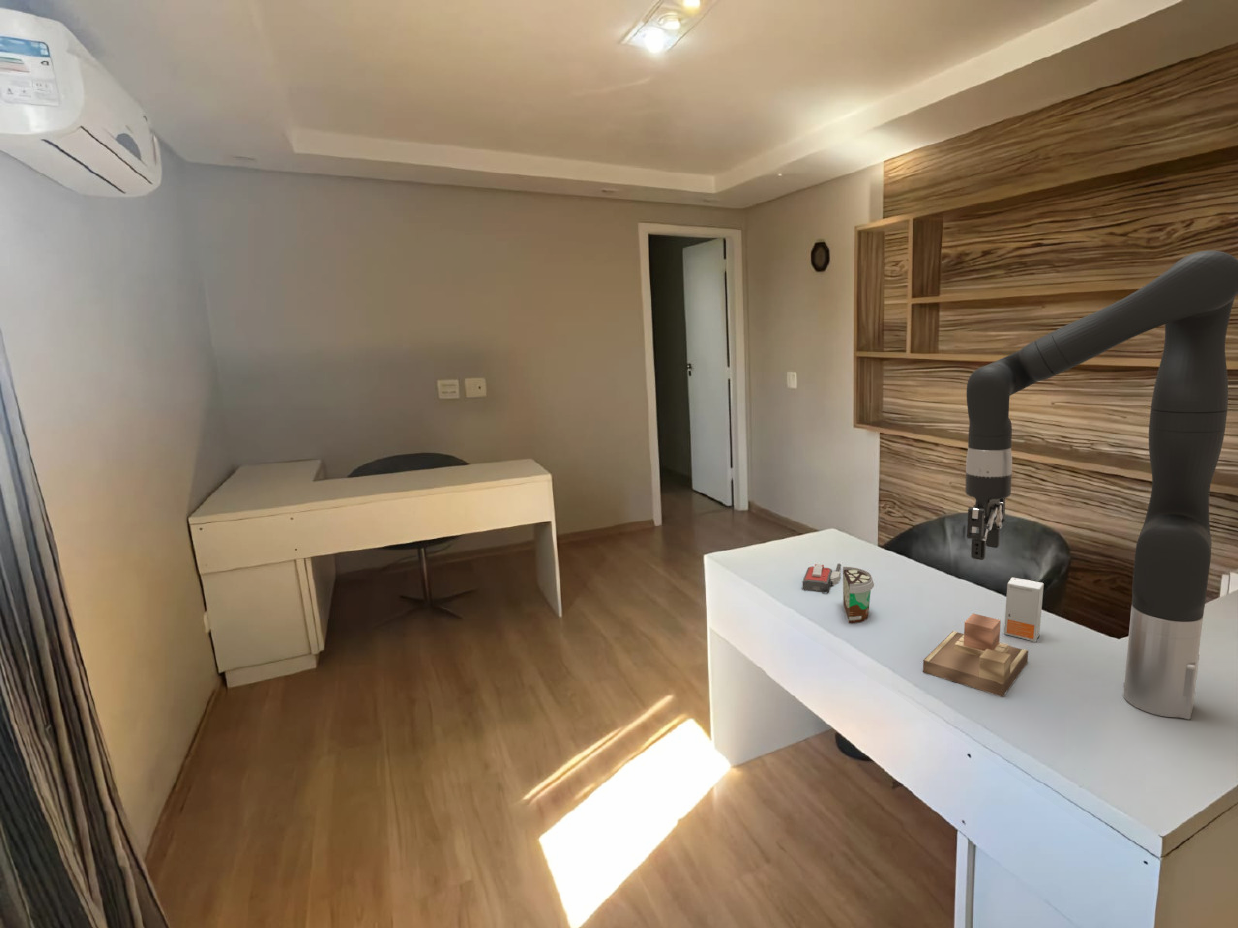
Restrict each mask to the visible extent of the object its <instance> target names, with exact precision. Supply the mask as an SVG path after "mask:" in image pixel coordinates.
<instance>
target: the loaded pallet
mask: <svg viewBox="0 0 1238 928" xmlns="http://www.w3.org/2000/svg"><path fill="white" fill-rule="evenodd" d="M963 627H964V628H963V629H964V630H963V634H964V635H963V636H962V637H961V638H960V639H959V640H958V641H957V642H956V643H955V649H954V650H958V651H961V652H965V653H968V654H972V655H976V656H979V657H980V656H981V655H982V653H983V652H984V651H985V650H986V649H990V650H994V651H998V652H1002V653H1007V651H1008V647H1009V646H1010V645H1009V644H1008V643H1005V642H1000V640H1001V637H1000V636H1001V619H999V618H998V619H997V618H993V617H989V616H986V615H980V614H977V613H972V614H971V615H970V616H969V617H968V618H967V619H966V620H965V621H964V625H963Z"/></svg>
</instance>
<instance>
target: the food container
mask: <svg viewBox="0 0 1238 928" xmlns="http://www.w3.org/2000/svg"><path fill="white" fill-rule="evenodd" d="M842 585H843V586H842V588H843V589H842V599H843V600H842V601H843V602H842V603H843V604H842V605H843V607H842V608H843V610H844V613H845V616H846V619H847V622H848V624H857V623H858V624H859V623H862V622H865V621H866V620H868V618H869V612H870V603H871V591H872V590H873V588H874V586H875V582H874V579H873V576H872V574H871V573H870V572H868V571H866V570H864V569H861V568H858V567H853V566H842Z"/></svg>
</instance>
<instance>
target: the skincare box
mask: <svg viewBox="0 0 1238 928" xmlns="http://www.w3.org/2000/svg"><path fill="white" fill-rule="evenodd" d="M1044 586H1045V584H1044V583H1043V582H1041V581H1040V582H1038V581H1033V580H1029V579H1023V578H1017V577H1010V580H1008V582H1007V585H1006V597H1005V598H1006V600H1005V611H1004V613H1005V615H1004V625H1003V626H1004V627H1003V634H1004V635H1006V636H1011V637H1015V638H1019V639H1023V640H1027V641H1030V642H1034V643H1035V642H1036V641H1037V639H1038V637H1039V636H1040V633H1041V618H1042V608H1043V597H1044V595H1043V594H1044V588H1045V587H1044Z"/></svg>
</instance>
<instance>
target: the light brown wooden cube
mask: <svg viewBox="0 0 1238 928" xmlns="http://www.w3.org/2000/svg"><path fill="white" fill-rule="evenodd" d="M1010 659H1011V655H1010V654H1006V653H1002V652H998V651H994V650H990V649H986V650H985V651H984V652H983V653H982V655H981V656H980V657H979V677H981V678H985V679H988V680H992V681H996V682H999V683H1003V684H1004V682H1005V681H1006V680H1007V678H1008V677H1009V676H1010Z"/></svg>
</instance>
